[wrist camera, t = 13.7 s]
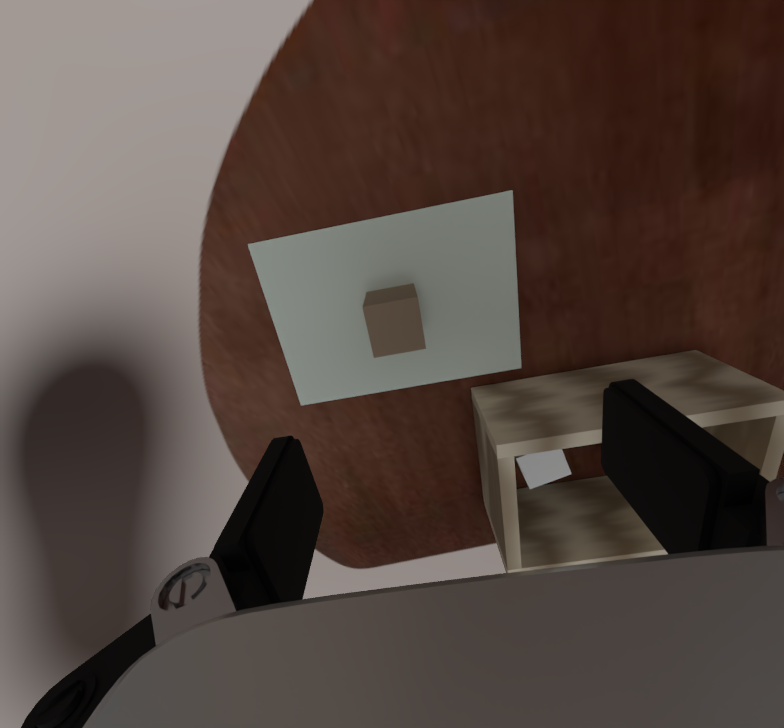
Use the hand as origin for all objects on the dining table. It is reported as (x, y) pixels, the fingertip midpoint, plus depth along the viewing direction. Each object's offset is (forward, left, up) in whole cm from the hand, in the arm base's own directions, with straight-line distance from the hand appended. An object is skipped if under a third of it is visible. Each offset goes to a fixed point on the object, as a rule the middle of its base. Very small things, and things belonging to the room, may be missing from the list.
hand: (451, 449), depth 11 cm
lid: (+2, +1, -22) cm, 22 cm away
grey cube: (-9, +17, -21) cm, 29 cm away
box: (-14, +17, -21) cm, 31 cm away
